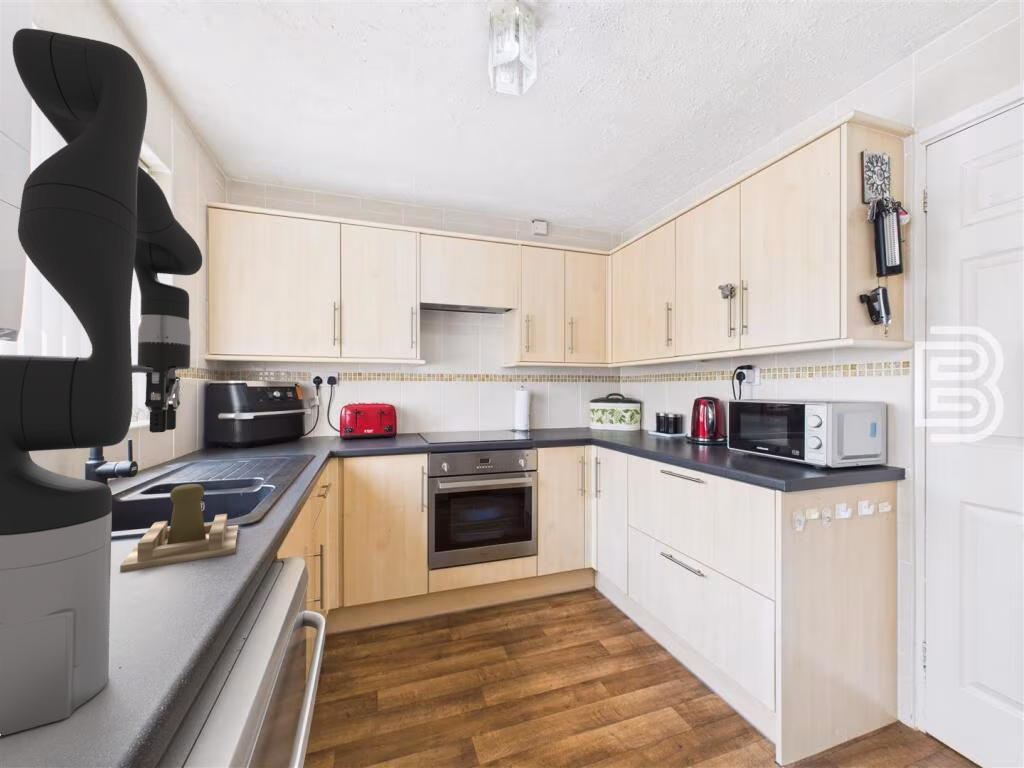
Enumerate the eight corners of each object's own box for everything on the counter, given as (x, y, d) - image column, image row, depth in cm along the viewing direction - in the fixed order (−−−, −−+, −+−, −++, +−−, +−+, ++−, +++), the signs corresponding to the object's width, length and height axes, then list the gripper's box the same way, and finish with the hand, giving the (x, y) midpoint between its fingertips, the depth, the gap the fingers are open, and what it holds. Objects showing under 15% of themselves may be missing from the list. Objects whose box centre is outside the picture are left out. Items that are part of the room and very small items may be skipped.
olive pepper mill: (176, 538, 85) (177, 482, 85) (211, 536, 86) (212, 480, 86) (159, 549, 79) (160, 489, 79) (197, 546, 80) (198, 487, 80)
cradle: (234, 553, 80) (234, 531, 80) (120, 571, 71) (120, 547, 72) (238, 529, 93) (238, 511, 93) (142, 542, 85) (143, 522, 85)
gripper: (183, 339, 75) (181, 432, 74) (195, 348, 87) (194, 428, 87) (126, 336, 71) (124, 434, 71) (148, 346, 84) (146, 429, 83)
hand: (163, 431), depth 79 cm, fingers open, 8 cm apart
